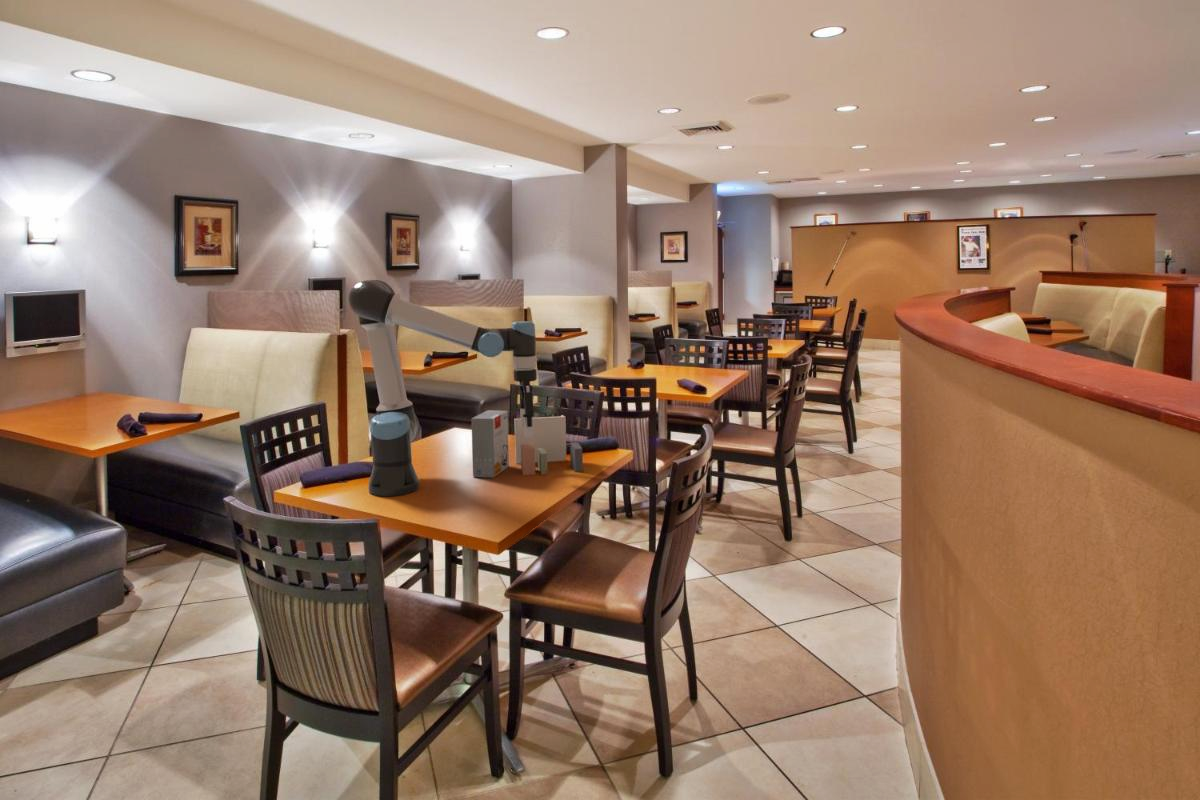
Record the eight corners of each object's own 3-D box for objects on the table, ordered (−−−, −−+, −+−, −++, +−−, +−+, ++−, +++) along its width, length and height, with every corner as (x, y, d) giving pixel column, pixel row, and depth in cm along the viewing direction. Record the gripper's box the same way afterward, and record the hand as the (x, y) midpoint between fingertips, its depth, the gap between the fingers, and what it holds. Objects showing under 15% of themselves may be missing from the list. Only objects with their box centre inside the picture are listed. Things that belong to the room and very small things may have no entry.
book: (523, 475, 235) (522, 448, 233) (521, 470, 240) (520, 444, 239) (535, 474, 235) (534, 448, 234) (533, 469, 241) (532, 443, 240)
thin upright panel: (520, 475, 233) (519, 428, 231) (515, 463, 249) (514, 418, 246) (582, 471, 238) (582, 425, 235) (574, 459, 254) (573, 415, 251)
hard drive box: (494, 478, 230) (492, 419, 227) (472, 477, 232) (469, 418, 228) (509, 466, 245) (507, 410, 242) (489, 465, 247) (486, 409, 243)
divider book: (541, 474, 235) (540, 453, 234) (538, 467, 243) (537, 448, 242) (547, 473, 236) (546, 453, 234) (544, 467, 243) (543, 447, 242)
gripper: (541, 373, 220) (543, 439, 224) (531, 363, 244) (533, 423, 248) (517, 374, 219) (519, 440, 223) (510, 364, 243) (512, 424, 247)
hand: (527, 431), depth 235 cm, fingers open, 13 cm apart
